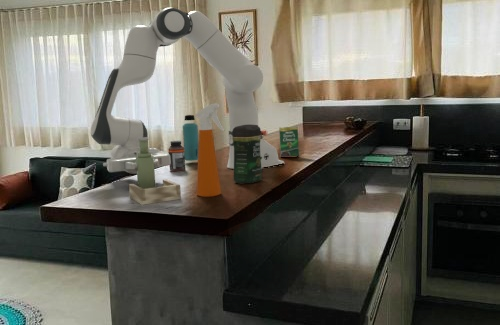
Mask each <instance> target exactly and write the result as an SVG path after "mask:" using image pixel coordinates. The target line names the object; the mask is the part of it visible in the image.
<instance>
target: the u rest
mask: <svg viewBox="0 0 500 325" xmlns="http://www.w3.org/2000/svg"><path fill="white" fill-rule="evenodd" d="M128 188H129V198H130V199H131V200H133V201H135V202H136V203H138V204H140V205H141V206H144V205H148V204H155V203H163V202H169V201H176V200H181V199H182V193H181V191H182V190H181V184H179V183H177V182H174V181H172V180H169V179H166V178H165V179H162V186H156V187H155V188H148V189H142V188H140V187H139V186H138V184H137V185H136V184H134V183H128Z"/></svg>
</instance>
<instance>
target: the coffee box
mask: <svg viewBox="0 0 500 325" xmlns="http://www.w3.org/2000/svg"><path fill="white" fill-rule="evenodd" d="M278 129H279V130H278V131H279V149H280V157H281V156H299V157H300V148H299V147H300V145H299V128H298V126H284V127H283V126H281V127H279V128H278Z"/></svg>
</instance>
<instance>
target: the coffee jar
mask: <svg viewBox="0 0 500 325" xmlns="http://www.w3.org/2000/svg"><path fill="white" fill-rule="evenodd" d="M260 130H261V127H260V126H259V124H258V125H241V126H237V127H235V128H234V129H233V133H232V136H233V137H232V139H233V144H234V169H233V181H234V183H237V184H240V185H244V184H254V182H255V183H257V182H260V181H262V179H263V172H262V171H263V170H262V169H263V168H261V156H260V139H261V132H260Z"/></svg>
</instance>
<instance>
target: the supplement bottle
mask: <svg viewBox="0 0 500 325" xmlns="http://www.w3.org/2000/svg"><path fill="white" fill-rule="evenodd" d="M183 146H184V145H182V140H172V141H170V147H169V148H168V154H169V155H170V159H171V164H170V165H169V171H170V172H173V173H175V172H176V173H178V172H184V171H185V170H186V160H185V153H184V147H183Z"/></svg>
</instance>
